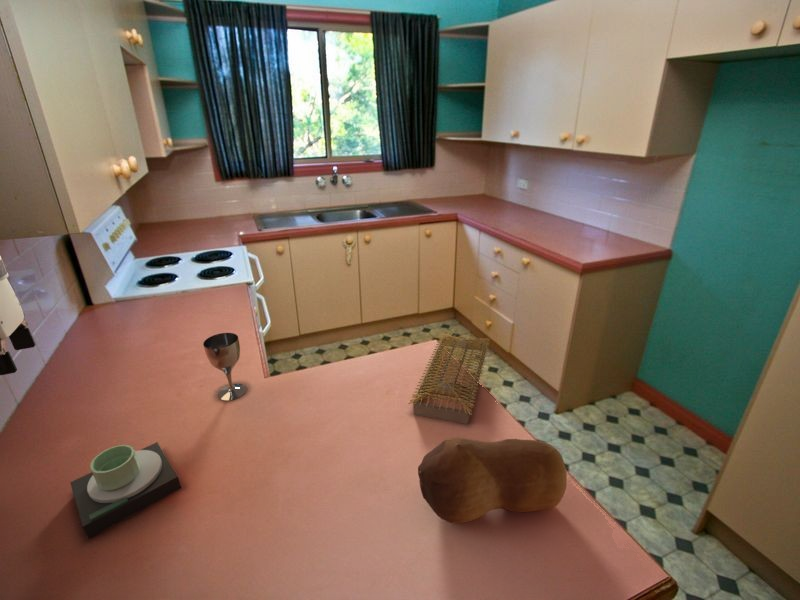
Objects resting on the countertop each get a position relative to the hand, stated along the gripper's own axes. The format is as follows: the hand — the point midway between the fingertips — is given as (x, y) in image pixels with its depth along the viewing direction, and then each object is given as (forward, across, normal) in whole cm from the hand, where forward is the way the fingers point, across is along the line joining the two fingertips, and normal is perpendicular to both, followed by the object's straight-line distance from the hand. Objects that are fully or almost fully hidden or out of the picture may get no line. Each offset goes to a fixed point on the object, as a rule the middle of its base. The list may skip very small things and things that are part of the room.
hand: (16, 360), depth 78 cm
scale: (+24, +15, +14) cm, 32 cm away
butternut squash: (+18, +41, +62) cm, 77 cm away
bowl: (+20, +15, +14) cm, 29 cm away
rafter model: (+24, +9, +88) cm, 92 cm away
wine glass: (+24, -10, +34) cm, 43 cm away
